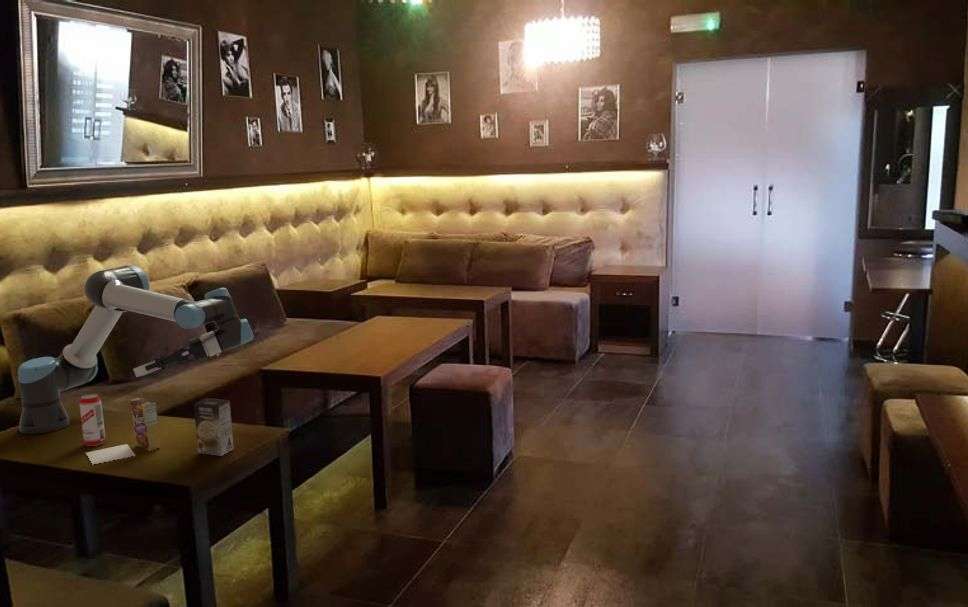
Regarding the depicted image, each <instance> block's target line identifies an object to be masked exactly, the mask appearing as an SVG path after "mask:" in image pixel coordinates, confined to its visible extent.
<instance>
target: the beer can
mask: <svg viewBox="0 0 968 607" xmlns="http://www.w3.org/2000/svg"><path fill="white" fill-rule="evenodd" d="M79 413H80V419H81V429H82V436H83V444H84V445H85V446H87V447H89V446H94V447H99V446H101V444H102V445H103V444H104V443H105V442H106V440H107V439H106V430H105V423H104V422H105V421H104V415H103V413H104V412H103V405H102V399H101V397H99V394H98V393H89V394H88V393H86V394H84V395H82V396H80V400H79ZM98 445H99V446H98Z"/></svg>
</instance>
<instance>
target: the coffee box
mask: <svg viewBox="0 0 968 607" xmlns="http://www.w3.org/2000/svg"><path fill="white" fill-rule="evenodd" d="M193 411H194V423H195V432H196V434H195V435H196V442H197V444H196V445H197V453H198V454H201V453H202V454H203V455H209V454H210V456H211V455H212V456H219V457H223V456H224V454H225V455H226V454H227V453H230V452H231V451H233V450H234V439H233V438H234V437H233V425H232V415H231V413H232V412H231V401H230V399H220V398H211V397H204V398H203V399H201V400H198V401H197V402H195V403H193ZM229 451H230V452H229Z"/></svg>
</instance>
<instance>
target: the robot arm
mask: <svg viewBox="0 0 968 607" xmlns="http://www.w3.org/2000/svg"><path fill="white" fill-rule="evenodd" d="M84 294H85V296H86V298H87V300H88V301H89V302H90V303H91V304H92V305H95V306H94V307H93V309H92V311H91V312H90V313H89V316H88V318H87V319H86V320H85V322H84V324H83V326H82V327H81V329H80V330H79V331H78V334H77V335H76V337H75V338H74V340H73V342H72V343H71V344H67V345H66V346H64V348H63V350H62V351H61V353H60V355H59V356H57V357H54V356H53V357H52V356H42V357H37V358H32V359H29V360H27V361H26V362H25V361H24V362H23V363H22V364H20V365H19V367H18V369H17V375H18V376H17V380H18V381H17V382H18V385H19V392H20V399H21V406H22V410H21V414H20V418H19V425H18V427H19V428H18V429H19V432H20V433H21V434H25V435H37V434H39V435H40V434H45V433H50V432H56V431H60V430H61V429H64V428H66V427H67V426H69V425H70V417H69V414H68V413H67V411H66V409H65V407H64V404H63V403H62V399H61V392H64V391H66V390H70V389H72V388H74V387H79V386H82V385H85V384H86V383H89V382H90V381H92V380H93V379H94V378H95V377H96V375H97V374H98V370H99V367H98V364H99V363H98V356H97V354H98V353H99V352H100V349H101V348H102V347H103V345H104V343H105V341H106V340H107V339H108V337H109V335H110V333H111V332H112V330H113V329H114V327H115V325H116V324H117V323H118V321H119V319H120V318H121V316H122V315H123V313H126V312H132V313H133V312H134V313H137V314H142V315H146V316H150V317H153V318H154V317H155V318H159V319H162V320H167V321H171V322H174V323H176V324H177V325H178V326H179V327H181V328H182V329H185V330H189V329H196V328H198V327H201V326H203V325H207V324H210V323H213V322H214V323H215V326H216V327H217V329H214V330H211V331H209V332H206V333H203V334H201V335H200V336H196V337H194V338H190V339H188V340H187V343H188V346H189V347H188V348H184V347H183V348H180V349H178V350H177V351H174V352H172V353H171V354H170V355H166V356H164V357H161V358H158V357H155V358H153V359H154V360H152V361H150V362H148V363H144V364H142V365H140V366H137V367H134V368H132V370H133V373H134V374H135V376H136V378H138V377H143V376H146V375H148V374H151V373H153V372H156V371H158V370H162V371H164V370H166V368H167V366H170V365H173V364H178V363H181V362H186V361H189V358H191V357H192V356H193V358H194V360H195V361H196V362H202V361H203V360H206V359H208V356H209V357H213V356H215V355H216V357H219V356H220V354H221V353H224V352H226V351H229V350H231V349H234V348H237V347H240V346H242V345H244V344H246V343H249V342H250V341H252V340H253V339H254V333H253V330H252V328H251V325H250V323H249V321H248V319H247V318H241V317H239V316H240V315H239V314H238V311H237V309H236V307H235V304H234V301H233V298H232V296H231V294H230V293H229V290H228V289H227V288H226V287H220V288H217V289H215V290H211V291H209V292H207V293H205V294H204V299H201V300H198V301H197V300H195V301H193V300H190V299H185V298H180V297H177V296H172V295H169V294H165V293H160V292H155V291H151V290H150V282H149V278H148V275H147V274H146V272H145V271H144V270H143V269H142V268H140V267H139V266H137V265H123V266H119V267H112V268H109V269H108V268H107V269H102V270H98V271H96V272H94V273H92V274H91V275H89V276H88V278H87V279H86V281H85V284H84Z"/></svg>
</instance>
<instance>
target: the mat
mask: <svg viewBox="0 0 968 607" xmlns="http://www.w3.org/2000/svg"><path fill="white" fill-rule="evenodd" d="M85 455H86V457H87V456H88V457H87V459H88V458H89V459H88V460H89V462H90V461H91V462H90V463H92V464H91V466H95V465H94V464H97V465H99V463H101V464H105V463H104V462H106V463H109V461H110V462H114V461H113V460H115V461H119V460H122V459H123V458H124V459H128V457H129V458H132V457H131V456H133V457H136V454H135V453H134V451H133V449H131V447H130V446H129V445H128V444H127V443H125V444H121V445H115V446H112V447H107V448H101V449H98V450H92V451H88V452H85ZM118 459H119V460H118Z"/></svg>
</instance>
